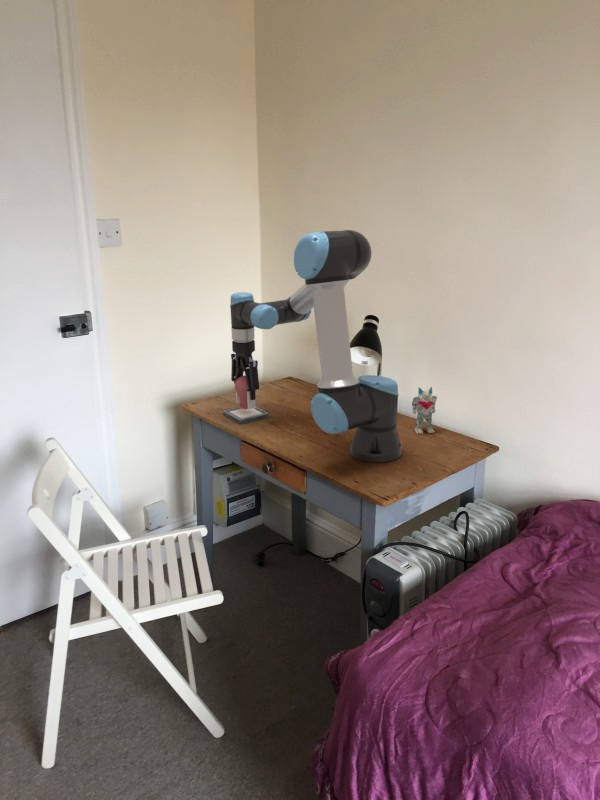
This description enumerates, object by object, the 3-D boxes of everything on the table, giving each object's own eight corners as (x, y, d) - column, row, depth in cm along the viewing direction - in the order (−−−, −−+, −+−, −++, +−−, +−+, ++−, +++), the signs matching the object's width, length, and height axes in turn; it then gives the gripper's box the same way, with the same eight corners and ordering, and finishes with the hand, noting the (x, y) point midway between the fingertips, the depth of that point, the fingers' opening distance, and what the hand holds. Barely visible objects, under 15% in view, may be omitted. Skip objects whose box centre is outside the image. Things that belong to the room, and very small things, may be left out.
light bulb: (253, 413, 219) (252, 379, 215) (233, 412, 221) (231, 378, 217) (258, 406, 226) (257, 373, 222) (239, 405, 227) (237, 372, 223)
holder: (269, 417, 223) (269, 413, 222) (240, 424, 216) (239, 420, 216) (251, 408, 232) (251, 404, 231) (223, 415, 225) (223, 410, 225)
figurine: (406, 432, 209) (408, 387, 204) (416, 424, 215) (418, 381, 210) (430, 436, 205) (433, 391, 200) (439, 429, 211) (442, 385, 206)
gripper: (269, 343, 210) (270, 411, 217) (238, 333, 225) (240, 395, 233) (249, 347, 206) (251, 415, 213) (218, 336, 221) (222, 399, 228)
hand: (245, 405), depth 223 cm, fingers closed on light bulb, 7 cm apart
